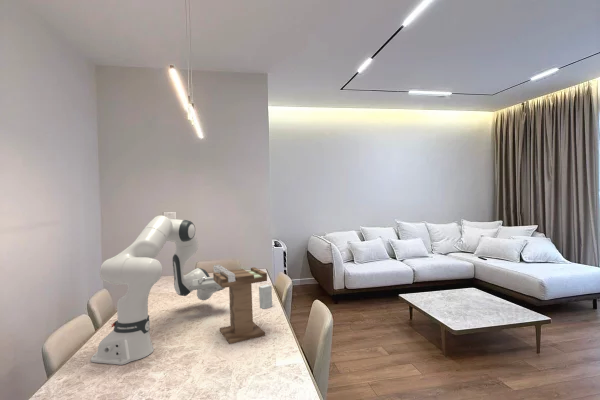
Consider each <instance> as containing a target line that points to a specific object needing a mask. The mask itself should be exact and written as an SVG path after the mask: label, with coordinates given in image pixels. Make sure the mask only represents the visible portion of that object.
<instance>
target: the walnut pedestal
mask: <svg viewBox="0 0 600 400" xmlns="http://www.w3.org/2000/svg"><path fill="white" fill-rule="evenodd" d="M229 271H231V272H232V273H234V274H235V281H234V282H227V279H226V278H225V277H223V276H222V275H221V274H219V273H218V272H216V273H215V272H213V274H212V275H213V276H212V277H213V278H214V281H215V282H216V283H217V284H218V285H220V286H221V287H222V288H225V289H226V288H228V294H229V317H230V318H229V320H230V322H229V323H230V325H228V326H224V327H219V332H220V334H221V335H222V336H223V338H224V339H225V341H227V342H228V344H229V345H232V344H236V343H240V342H244V341H248V340H252V339H256V338H262V337H264V336H266V333H265V331H264V330H263V329H262V328H261V327H259V325H258V324H256V323H255V322H254V317H253V316H254V315H253V291H252V290H253V289H252V286H253V285H252V284H257V283H262V282H268V273H267V272H265V271H263V270H262V269H259V268H257V267H254V266H253V267H250V270H245V269H243V268H239V269H232V270H229Z"/></svg>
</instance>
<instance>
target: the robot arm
mask: <svg viewBox="0 0 600 400" xmlns="http://www.w3.org/2000/svg"><path fill="white" fill-rule="evenodd" d="M166 242H174V243H175V252H174V254H173V256H172V269H173V278H174V279H173V280H174V281H173V288H174V290H175V293H177V295H178V296H181V297H187V296H188V295H189V294H191V292H193V291H196V297H197V299H198V300H200V301H207V300H209V299H210V298H211V297H212V296H213V294H215V293H217V292H220V291H222V290H223V291H224V290H225V289H226V288H222V287H221V286H220V285H218V284H217V283H216V282H215V281H214V278H213V276H210V275H209V273H208V272H207V271H206V269H204V268H201V267H196V268H195V269H193V270H191V271H190V272H188V273H187V274H184V267H185V265H186V264H187V263H188V261H189V260H191V258H192V257H193V256H195V254H196V253H197V252H198V249H199V241H198V238H197V234H196V226H195V224H194V223H193V222H192V221H191V220H188V219H178V218H177V219H176V218H169V217H167V216H165V215H161V214H159V215H156V216H155V217H154V218H152V219H151V220H150V221H149V222H148V224H146V225H145V227H144V228H143V230H141V232H140V233H139V234H138V236H137V238H136V239H135V240H134V241H133V242H132V243H131V244H130V245H129V246H128V247H127V248H125V249H123V250H122V251H120V252H119V253H117V255H115V256H113V257H110V258H107V259H106V260H104V261H103V262H102V264H101V266H100V269H99V276H100V279H101V280H102V281H103V282H105V283H109V284H112V285H118V286H119V285H121V286H123V285H124V286H127V290H126V293H125V294H124V295H122V296H121V297H119V299H118V300H117V303H116V308H117V311H116V313H117V314H116V315H117V320H114V322H113V323H111V327H110V328H113V330H112V331H110V332H109V333H108V334H107V335H106V336H105V337H104V338H102V339H101V341H99V344H98V346H97V351H96V352H95V353H94V354H93V355H92V356H91V358H90V362H91V363H98V364H108V365H109V364H110V365H121V366H122V365H125V364H129V363H130V362H133V361H137V360H140V359H143V358H145V357H148V356H149V355H151V354H152V353H153V352H154V349H155V348H154V345H153V344H152V340H151V339H152V338H151V333H150V327H151V326H150V325H151V323H150V316H149V296H150V292H151V290H152V288H153V286H154V285H155V284H156V283H157V282H159V280H160V279H161V278H162V274H163V265H162V263H161V262H160V261H159V260H158V259H155V258H156V257H157V256H158V255H160V253H161V251H162V249H163V247H164V246H165V244H166Z"/></svg>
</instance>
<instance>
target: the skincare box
mask: <svg viewBox="0 0 600 400" xmlns="http://www.w3.org/2000/svg"><path fill="white" fill-rule="evenodd" d="M272 291H273V290H272V284H271V285H270V284H264V285H261V286H258V296H259V299H258V300H259V308H260V309H262V310H267V309H269V308H272V307H273V292H272Z"/></svg>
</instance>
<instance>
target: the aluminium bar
mask: <svg viewBox="0 0 600 400" xmlns="http://www.w3.org/2000/svg"><path fill="white" fill-rule="evenodd" d="M212 269H213V273H216V272H218V273H219V274H221V275H222V276H223V277H225V278H226V279H227V282H234V281H235V274H234V273H232V272H231V271H230V270H229V269H227V268H226V267H224V266H222V265H221V264H215V265H213V267H212Z"/></svg>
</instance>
